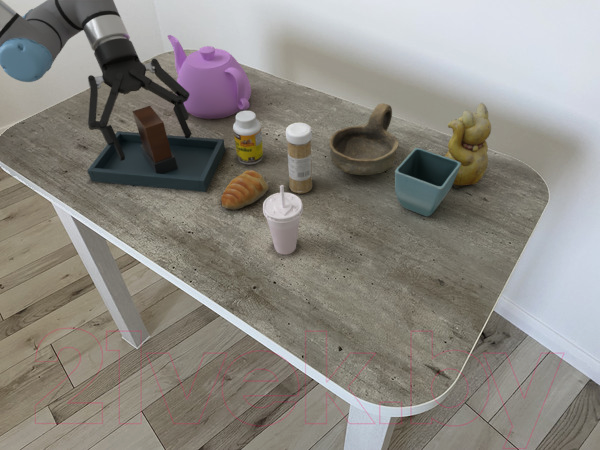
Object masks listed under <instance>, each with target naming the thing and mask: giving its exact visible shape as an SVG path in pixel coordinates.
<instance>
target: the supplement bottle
mask: <svg viewBox="0 0 600 450" xmlns="http://www.w3.org/2000/svg"><path fill="white" fill-rule="evenodd" d="M232 131H233V139H234V145H235V152H236V158H237V160H238V162H240V163H241V164H243V165H255V164H258V163H260V162H261V161H262V160H263V158H264V146H263V135H262V124H261V123H260V121H259V120H258V119H257V115H256V113H255V112H254V111H252V110H240V111H238V112H237V113H236V115H235V122H233V126H232Z"/></svg>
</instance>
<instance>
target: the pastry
mask: <svg viewBox="0 0 600 450" xmlns="http://www.w3.org/2000/svg"><path fill="white" fill-rule="evenodd" d="M268 190H269V185H268V183H267V181H266V180H265V179H264V177H263V176H262V174H261V173H259V172H257V171H255V170H253V169H251V170H250V169H247V170H244V171H243V173H241V174H239V175H238V176H236V177H235V178H233V179H232V180H231V181H230V182H229V184H228V185H227V186H226V187H225V189H224V191H223V193H222V195H221V197H220V200H221V206H222V207H223V208H225V209H228V210H235V211H236V210H240V209H242V208H244V207H246V206H249V205H252V204H253V203H255V202H257V201H259V199H260V198H262V197H264V195H266V193H267V191H268Z"/></svg>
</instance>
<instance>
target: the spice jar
mask: <svg viewBox="0 0 600 450" xmlns="http://www.w3.org/2000/svg"><path fill="white" fill-rule="evenodd" d="M312 132H313V131H312V127H311V126H310V124H308V123H305V122H294V123H290V124H289V125H288V126H287V127H286V128H285V139H286V142H287V162H288V163H287V164H288V176H289V177H288V178H289V184H288V185H289V189H290V191H291V192H292V193H295V194H300V195H301V194H306V193H309V192H310V191H311V190H312V188H313V182H312V181H313V180H312V172H313V166H312V165H313V164H312V163H313V162H312V161H313V159H312V137H313V133H312Z"/></svg>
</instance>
